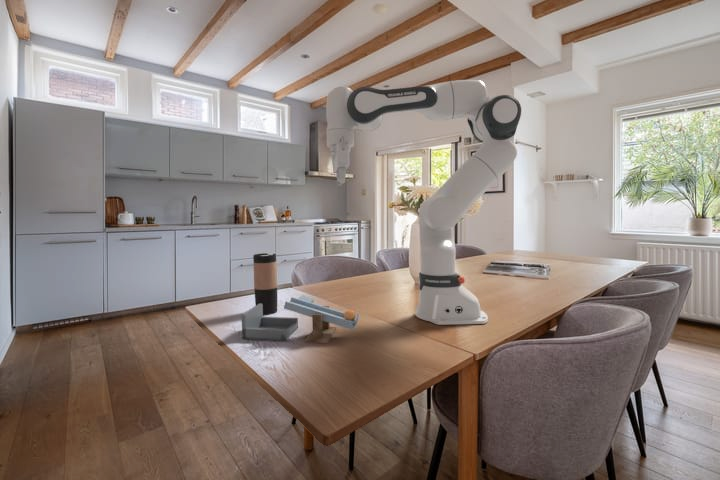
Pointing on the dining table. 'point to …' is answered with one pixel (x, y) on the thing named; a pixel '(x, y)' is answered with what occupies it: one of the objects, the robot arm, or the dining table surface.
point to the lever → (319, 311)
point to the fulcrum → (320, 330)
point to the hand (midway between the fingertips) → (341, 184)
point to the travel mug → (265, 282)
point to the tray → (266, 326)
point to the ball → (349, 315)
